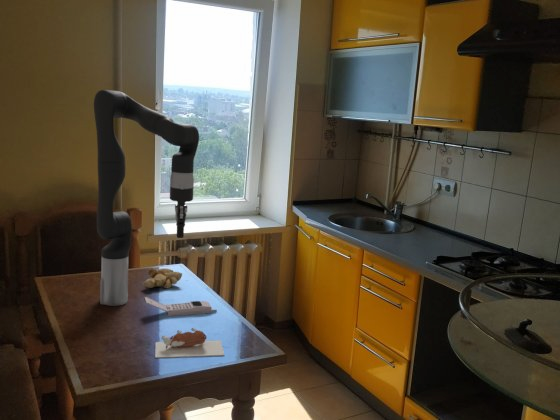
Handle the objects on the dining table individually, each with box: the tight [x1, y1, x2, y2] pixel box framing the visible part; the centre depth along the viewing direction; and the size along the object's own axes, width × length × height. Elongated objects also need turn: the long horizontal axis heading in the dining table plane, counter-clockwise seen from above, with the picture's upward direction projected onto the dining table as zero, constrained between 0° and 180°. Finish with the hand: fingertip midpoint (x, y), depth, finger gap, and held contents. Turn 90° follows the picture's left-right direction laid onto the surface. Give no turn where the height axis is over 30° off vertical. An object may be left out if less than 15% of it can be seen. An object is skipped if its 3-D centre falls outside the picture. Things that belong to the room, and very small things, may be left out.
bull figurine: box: [161, 327, 207, 349], centre depth 163 cm, size 4×13×8 cm
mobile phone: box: [144, 296, 218, 317], centre depth 189 cm, size 6×6×25 cm
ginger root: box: [142, 267, 183, 289], centre depth 217 cm, size 16×16×8 cm
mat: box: [154, 339, 225, 359], centre depth 162 cm, size 20×10×1 cm, turn 102°
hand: (180, 237), depth 178 cm, fingers closed
